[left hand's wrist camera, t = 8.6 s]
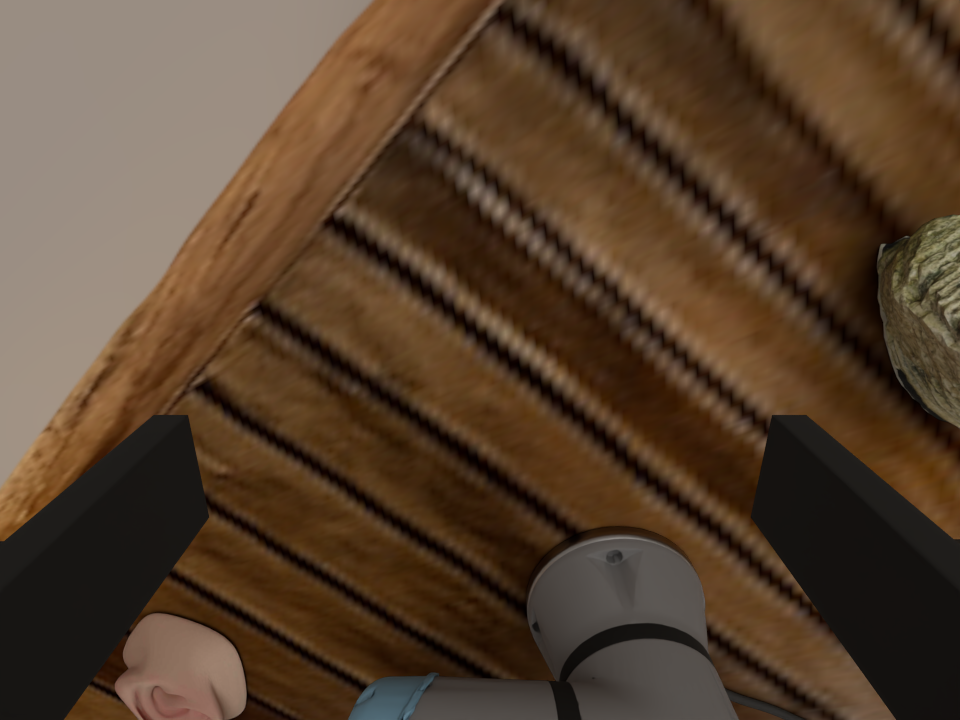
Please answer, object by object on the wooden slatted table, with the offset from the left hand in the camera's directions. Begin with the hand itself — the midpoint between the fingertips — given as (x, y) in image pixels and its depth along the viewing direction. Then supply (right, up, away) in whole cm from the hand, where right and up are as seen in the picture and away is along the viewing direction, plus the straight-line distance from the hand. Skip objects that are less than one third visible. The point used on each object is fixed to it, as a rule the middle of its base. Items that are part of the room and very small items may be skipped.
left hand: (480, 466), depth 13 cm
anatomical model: (-28, -27, +41) cm, 56 cm away
